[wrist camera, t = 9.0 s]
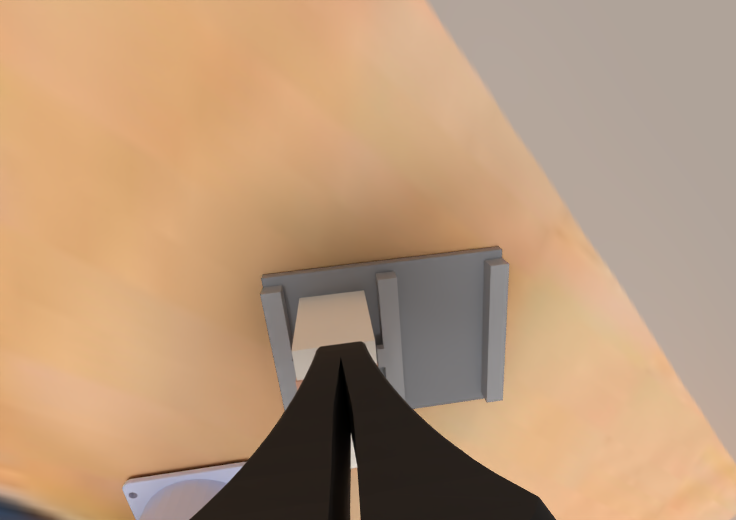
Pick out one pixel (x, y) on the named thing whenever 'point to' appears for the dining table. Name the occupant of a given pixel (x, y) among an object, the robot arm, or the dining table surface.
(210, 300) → the dining table surface
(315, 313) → the block
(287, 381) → the grey ribbed plate
